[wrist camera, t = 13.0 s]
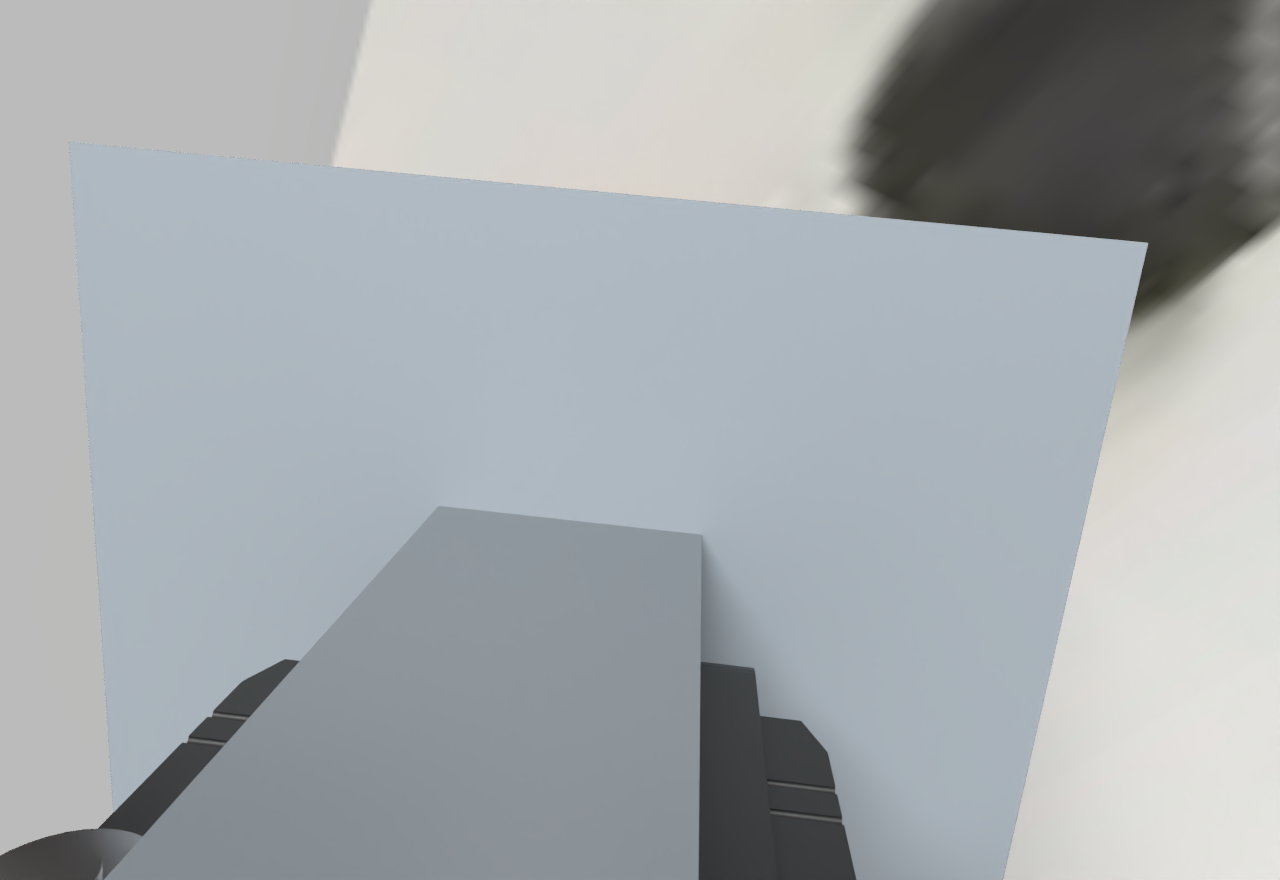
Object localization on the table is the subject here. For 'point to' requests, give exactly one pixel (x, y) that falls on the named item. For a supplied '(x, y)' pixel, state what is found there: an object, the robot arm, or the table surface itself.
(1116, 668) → the table surface
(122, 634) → the square plate with knob
